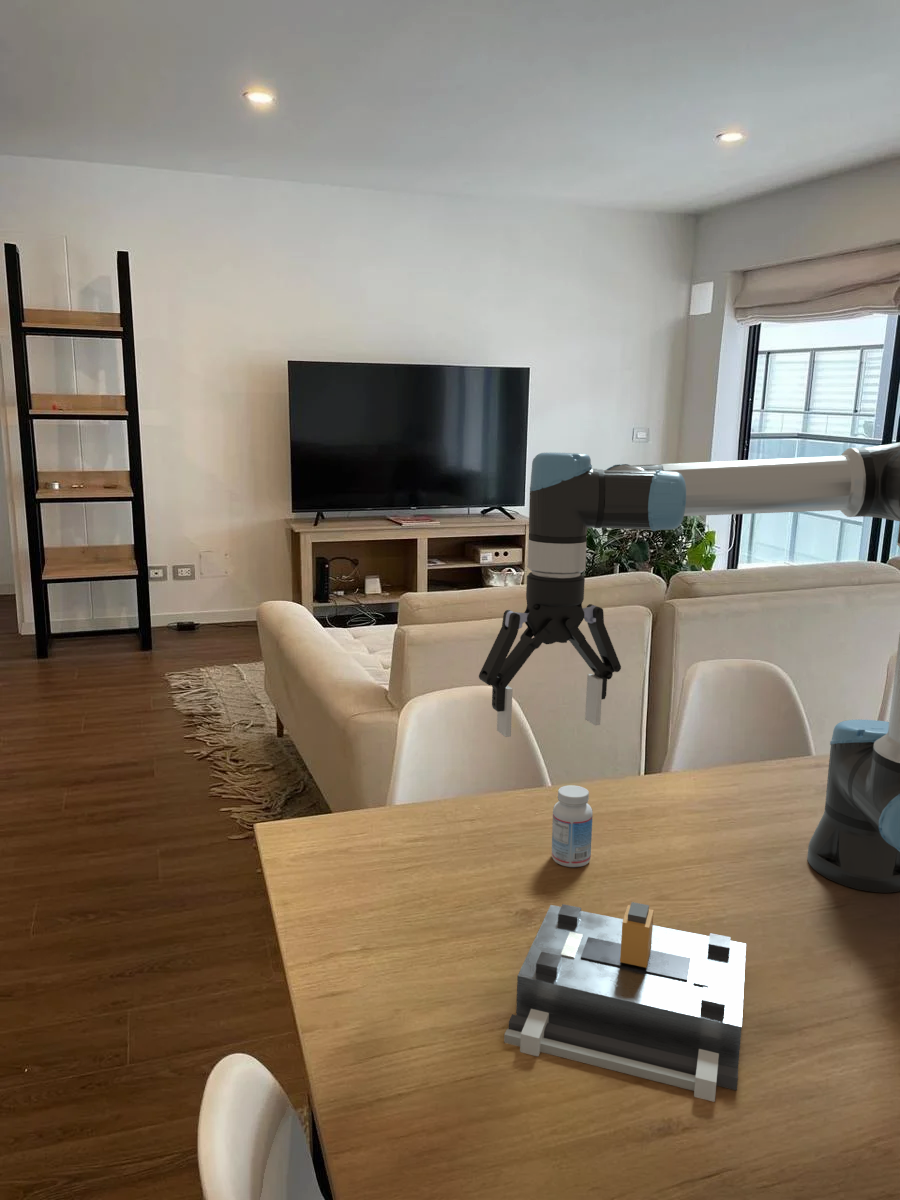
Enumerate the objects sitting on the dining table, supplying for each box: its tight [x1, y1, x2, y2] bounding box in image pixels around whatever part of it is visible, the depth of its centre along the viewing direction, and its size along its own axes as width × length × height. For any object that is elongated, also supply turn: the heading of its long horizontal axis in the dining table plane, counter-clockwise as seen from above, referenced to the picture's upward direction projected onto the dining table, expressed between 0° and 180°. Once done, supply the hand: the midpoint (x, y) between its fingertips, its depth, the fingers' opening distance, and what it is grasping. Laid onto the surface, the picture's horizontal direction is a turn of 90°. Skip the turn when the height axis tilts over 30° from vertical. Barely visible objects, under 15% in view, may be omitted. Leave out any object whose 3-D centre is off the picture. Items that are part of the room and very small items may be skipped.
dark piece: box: [503, 1009, 739, 1103], centre depth 103 cm, size 24×26×2 cm
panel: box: [515, 903, 747, 1070], centre depth 103 cm, size 24×16×6 cm, turn 70°
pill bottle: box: [551, 784, 594, 868], centre depth 135 cm, size 6×6×11 cm
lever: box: [620, 901, 655, 968], centre depth 102 cm, size 3×4×6 cm
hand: (549, 728), depth 119 cm, fingers open, 13 cm apart
